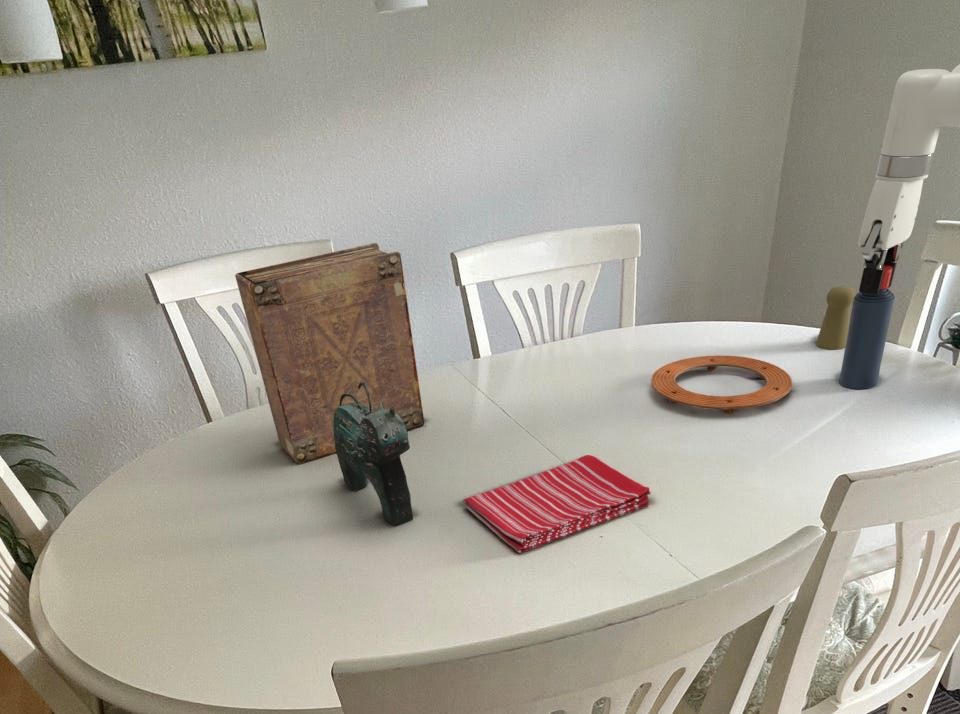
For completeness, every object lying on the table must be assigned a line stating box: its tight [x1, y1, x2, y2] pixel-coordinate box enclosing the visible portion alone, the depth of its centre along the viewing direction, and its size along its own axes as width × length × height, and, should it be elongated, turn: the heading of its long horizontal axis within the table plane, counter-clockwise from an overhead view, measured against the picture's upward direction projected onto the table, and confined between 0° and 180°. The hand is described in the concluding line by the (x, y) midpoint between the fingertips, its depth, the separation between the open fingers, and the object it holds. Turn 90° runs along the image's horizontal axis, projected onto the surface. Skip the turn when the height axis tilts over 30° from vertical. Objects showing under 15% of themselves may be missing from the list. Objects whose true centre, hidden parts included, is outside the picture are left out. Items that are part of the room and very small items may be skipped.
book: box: [234, 242, 425, 465], centre depth 135 cm, size 25×9×30 cm, turn 120°
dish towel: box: [462, 454, 651, 554], centre depth 117 cm, size 17×24×3 cm
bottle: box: [838, 288, 896, 390], centre depth 138 cm, size 6×6×19 cm
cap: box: [880, 265, 893, 289], centre depth 133 cm, size 4×4×3 cm
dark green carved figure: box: [333, 382, 414, 527], centre depth 117 cm, size 20×6×20 cm, turn 33°
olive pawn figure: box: [815, 285, 856, 350], centre depth 156 cm, size 6×6×11 cm
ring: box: [650, 355, 793, 414], centre depth 146 cm, size 25×25×2 cm
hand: (874, 288), depth 134 cm, fingers closed on cap, 3 cm apart
